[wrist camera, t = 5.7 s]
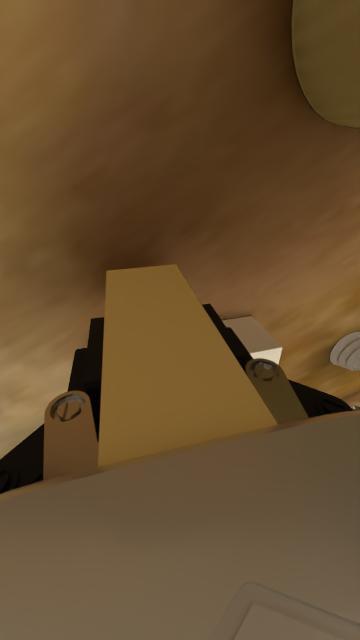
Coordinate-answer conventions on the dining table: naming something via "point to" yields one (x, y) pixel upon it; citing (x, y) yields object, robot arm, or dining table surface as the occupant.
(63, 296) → the dining table surface
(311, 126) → the dining table surface
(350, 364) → the chalice
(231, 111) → the dining table surface
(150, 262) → the dining table surface
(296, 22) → the potted cactus
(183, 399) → the peg
